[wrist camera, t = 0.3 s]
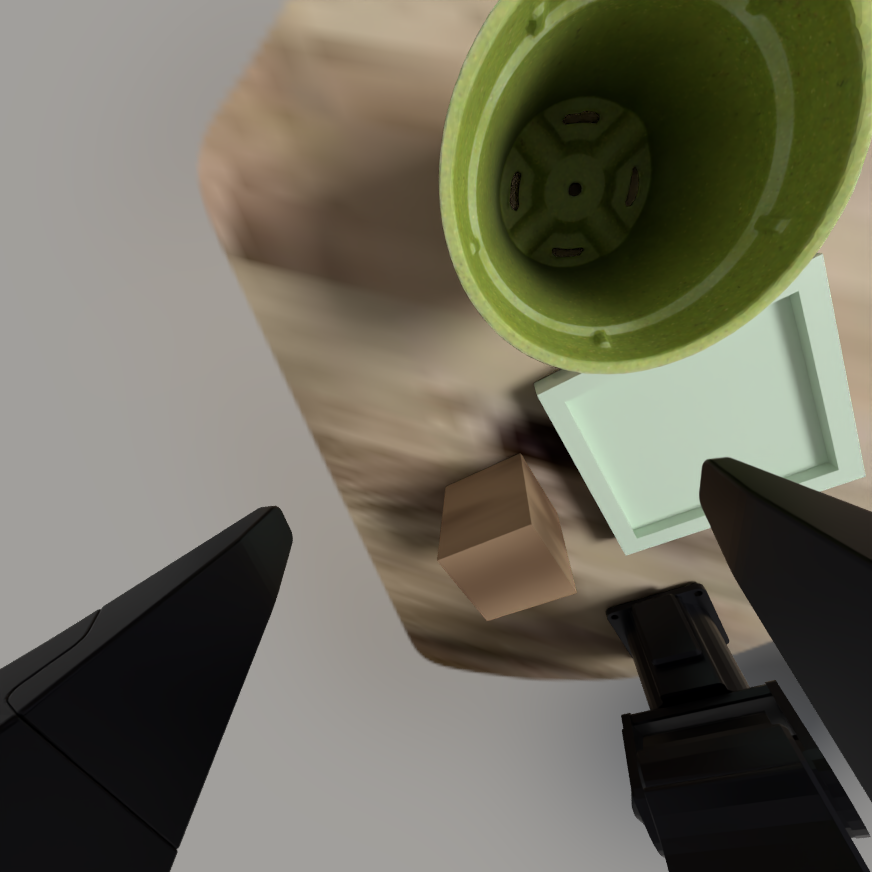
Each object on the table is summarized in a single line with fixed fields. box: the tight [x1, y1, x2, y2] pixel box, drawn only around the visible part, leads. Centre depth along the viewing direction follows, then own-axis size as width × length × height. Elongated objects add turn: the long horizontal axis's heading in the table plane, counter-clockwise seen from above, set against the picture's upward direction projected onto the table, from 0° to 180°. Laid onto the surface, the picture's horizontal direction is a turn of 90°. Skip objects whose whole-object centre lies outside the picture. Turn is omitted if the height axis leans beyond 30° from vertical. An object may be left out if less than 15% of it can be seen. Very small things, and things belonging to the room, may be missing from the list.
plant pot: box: [439, 0, 872, 374], centre depth 13 cm, size 9×9×9 cm
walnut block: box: [437, 453, 577, 621], centre depth 23 cm, size 5×5×6 cm
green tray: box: [534, 253, 866, 555], centre depth 21 cm, size 12×12×2 cm
